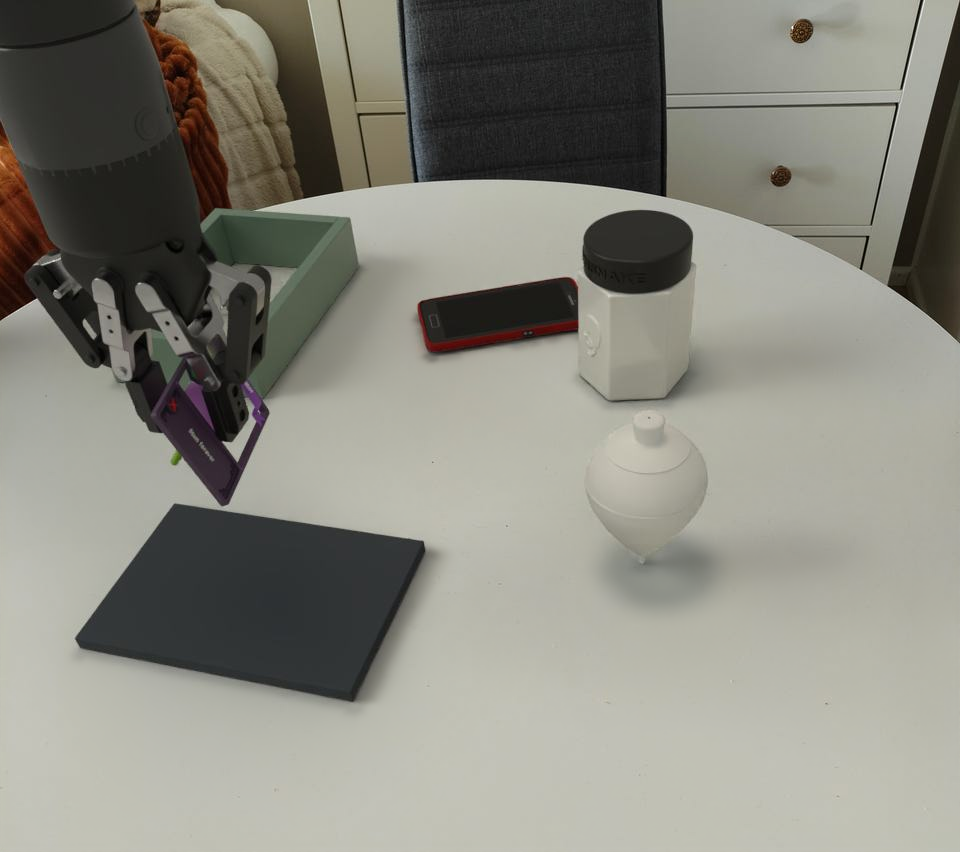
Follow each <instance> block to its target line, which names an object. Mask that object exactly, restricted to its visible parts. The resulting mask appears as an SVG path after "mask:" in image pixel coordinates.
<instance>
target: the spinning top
mask: <svg viewBox="0 0 960 852" xmlns="http://www.w3.org/2000/svg"><path fill="white" fill-rule="evenodd" d="M708 485H709V475H708V468H707V464H706V460H705V459H704V456H703V455H702V453H701V451H700V449H699V448H698V447H697V445H696V444H695V443H694V442H693V440H691V439H690V438H689V437H688V436H687V435H686V434H685V433H684V432H683V431H682V430H680V429H679V428H678V427H676V426H674V425H671V424H668V423H666V418H665V416H664V415H663V414H662V413H661V412H659V411H657V410H653V409H647V410H641V411H639V412H637V413H636V414H634V416H633V417H632V422H630V423H626V424H624V425H622V426H620V427H618V428H617V429H615V430H614V431H612V432H611V434H610V435H608V436H606V438H604V439H603V440H602V441H601V442H600V443H599V444H598V446H597V447H596V448H595V449H594V451H593V453H592V454H591V456H590V458H589V460H588V462H587V466H586V470H585V474H584V486H585V492H586V493H585V494H586V498H587V500H588V503H589V505H590V507H591V509H592V511H593V512H594V515H595V516H596V517H597V519H598V520H599V522H600V523H601V524H602V526H603V527H604V528H605V530H606V531H607V532H608V533H609V534H611V535H612V536H613V537H614V538H615V539H616V540H617V541H618V542H619V543H620V544H621V545H622V546H624V547H625V548H626V549H628V550H629V551H631V552H632V553H634V554H635V555H638V563H639V564H641V565H644V564H645V562H646V556H647V555H650V554H652V553H654V552H655V551H658V550H659V549H660V548H662V547H664V546H665V545H666V544H667V543H669V542H670V541H672V540H673V539H674V538H675V537H676V536H678V535H679V534H680V533H681V532H682V531H683V530H685V528H686V526H688V524H689V523H690V522H691V521H692V520H693V519H694V517H696V515H697V513H698V511H699V510H700V509H701V507H702V504H703V502H704V501H705V498H706V494H707V490H708Z"/></svg>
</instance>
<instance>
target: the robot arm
mask: <svg viewBox="0 0 960 852" xmlns="http://www.w3.org/2000/svg"><path fill="white" fill-rule="evenodd" d="M174 112H175V111H174V109H173V105H172V101H171V98H170V94H169V92H168V88H167V84H166V81H165V77H164V74H163V71H162V66H161V64H160V60H159V57H158V55H157V53H156V50H155V47H154V45H153V43H152V40H151V38H150V36H149V34H148V32H147V28H146V26H145V24H144V22H143V18H142V16H141V14H140V10H139V7H138V5H137V3H136V0H0V122H1V125H2V127H3V130H4V132H5V135H6V137H7V140H8V142H9V144H10V147H11V149H12V151H13V154H14V157H15V160H16V162H17V164H18V166H19V169H20V171H21V174H22V176H23V179H24V181H25V184H26V186H27V189H28V191H29V193H30V194H29V195H30V196H31V198H32V201H33V204H34V205H35V208H36V210H37V213H38V216H39V218H40V220H41V223H42V225H43V227H44V230H45V232H46V235H47V237H48V238H49V240H50V241H51V243H52V244H53V245H54V246H55V247H57V248H58V249H57V248H52V249H50V250H49V251H48V252H47V253H46V254H45V255H43V256H41V257H40V258H39V259H38V260H37V261H36V262H35V263H33V264H32V266H31V267H30V268H29V269H28V270H26V272H25V273H24V274H23V279H24V283H25V284H26V285H27V287H28V288H29V289H30V291H31V293H33V295H34V296H35V298H36V299H37V300H38V302H39V303H40V304H41V306H42V307H43V309H44V310H45V312H46V313H47V314H48V316H49V317H50V318H51V320H52V321H53V323H55V325H56V326H57V328H58V329H59V330H60V332H61V333H62V334H63V336H64V337H65V338H66V340H67V341H68V343H69V344H70V345H71V347H72V348H73V349H74V351H75V352H76V353H77V355H78V356H79V358H80V359H81V361H82V362H83V364H85V365H86V366H88V367H90V368H92V369H99V368H100V367H101V366H105V367H107V368H109V369H112V370H113V372H114V374H115V375H116V376H117V377H118V378H119V379H121V380H123V381H124V382H125V383H124V382H123V383H124V384H125V387H126V390H127V392H128V394H129V397H130V400H131V403H132V405H133V407H134V410H135V412H136V415H137V416H138V418H139V419H140V420H141V421H142V423H145V425H146V428H147V430H148V431H149V432H150V433H156V434H163V432H162V431H161V430H160V428H159V427H158V426H157V425H156V423H155V422H154V421H153V420H152V418H151V413H152V411H153V409H154V408H155V406H156V404H157V402H158V401H159V399H160V397H161V395H162V394H163V392H164V390H165V388H166V387H167V385H168V384H167V382H166V379H165V376H164V373H163V370H162V368H161V365H160V362H159V361H152V360H151V358H150V357H151V356H152V355H153V346H152V336H151V329H154V330H157V331H159V332H162V333H164V335H165V337H166V338H167V340H168V342H169V343H170V345H171V347H172V349H173V350H174V352H175V353H176V355H177V356H178V357H184V358H186V359H187V361H188V363H189V365H190V366H191V368H192V370H193V371H194V373H195V375H196V376H197V378H198V380H199V382H200V383H201V385H202V386H203V389H202V390H201V392H202V395H203V398H204V401H205V404H206V407H207V410H208V413H209V416H210V419H211V422H212V425H213V428H214V431H215V434H216V436H217V438H218V439H219V440H220V441H222V442H223V443H224V442H225V443H233V442H234V441H235V439H236V438H237V436H238V435H239V434H240V432H241V431H242V430H243V429H244V427H245V425H246V424H247V423H248V421H249V418H250V410H249V408H248V405H247V401H246V399H245V398H246V397H244V394H243V390H242V387H241V385H242V384H244V383H245V382H246V380H247V379H248V378H249V376H250V375H251V374H252V373H253V371H254V370H255V369H256V367H257V366H258V365H259V363H260V362H261V361H262V359H263V358H264V356H265V348H266V337H267V326H268V315H269V304H270V303H271V291H272V279H273V278H272V276H271V273H270V272H269V271H268V269H267V268H265V267H264V266H263V265H253V266H252V267H251V268H250V269H249V270H248V271H247V272H245V271H243V270H240V269H237V268H235V267H233V266H228V265H225V264H223V263H220V262H219V259H218V256H217V254H216V252H215V250H214V249H213V248H212V246H211V245H210V244H209V243H208V241H207V240H206V238H205V236H204V235H203V233H202V230H201V225H200V224H201V210H200V200H199V195H198V192H197V188H196V186H195V181H194V178H193V174H192V170H191V167H190V164H189V160H188V157H187V154H186V149H185V146H184V142H183V140H182V136H181V133H180V129H179V126H178V122H177V117H176V116H175V113H174ZM212 289H214V290H215V291H216V293H217V295H218V297H219V303H220V305H221V306H220V309H219V307H218V305H217V304H216V302H215V300H214V298H213V296H212V294H211V292H212V291H211V290H212ZM223 316H227V327H226V332H225V329H224V325H225V320H224V317H223ZM84 321H86V323H87V324H88V325H89V327H90V328H91V330H92V331H93V333H94V334H95V337H94V338H92V335H90V333H89V332H88V330H87V329H86V328H85V326H84ZM188 327H189V328H188ZM207 347H208V349H209V351H210V352H211V354H212V356H213V359H212V358H211V356H210V355H209V353H208V351H207ZM112 370H111V371H112ZM113 372H112V373H113Z"/></svg>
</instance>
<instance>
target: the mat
mask: <svg viewBox="0 0 960 852" xmlns="http://www.w3.org/2000/svg"><path fill="white" fill-rule="evenodd" d="M425 553H426V545H425V541H424V540H419V539H412V538H406V537H400V536H394V535H386V534H380V533H373V532H366V531H361V530H354V529H346V528H341V527H334V526H327V525H320V524H314V523H308V522H301V521H294V520H287V519H282V518H281V519H280V518H274V517H268V516H262V515H254V514H248V513H241V512H235V511H228V510H221V509H215V508H208V507H201V506H195V505H188V504H182V503H176V502H174V503H173V504H172V505H171V507H170V508H169V509H168V511H167V513H166V514H165V515H164V516H163V518H162V519H161V520H160V522H159V523H158V524H157V526H156V527H155V529H154V530H153V531H152V533H151V534H150V535H149V537H148V538H147V539H146V541H145V542H144V543H143V545H142V546H141V547H140V549H139V550H138V551H137V553H136V554H135V556H134V557H133V558H132V560H131V561H130V563H129V564H128V565H127V567H126V568H125V569H124V571H123V572H122V573H121V575H120V576H119V578H118V579H117V580H116V582H114V584H113V585H112V587H111V588H110V590H108V592H107V593H106V595H105V597H103V599H102V600H101V602H100V603H99V604H98V606H97V607H96V609H95V610H94V611H93V613H92V614H91V615H90V617H89V618H88V619H87V621H86V622H85V624H84V625H83V626H82V627H81V629H80V630H79V632H78V633H77V634H76V635H75V637H74V640H75V642H76V643H77V645H78V647H79V648H80V649H84V650H89V651H94V652H99V653H105V654H110V655H115V656H120V657H126V658H130V659H134V660H139V661H145V662H151V663H156V664H161V665H165V666H170V667H171V666H172V667H177V668H180V669H186V670H191V671H196V672H201V673H206V674H211V675H217V676H221V677H227V678H231V679H237V680H240V681H241V680H242V681H245V682H246V681H247V682H251V683H257V684H263V685H268V686H272V687H276V688H277V687H278V688H282V689H287V690H292V691H298V692H303V693H308V694H313V695H318V696H324V697H327V698H334V699H338V700H342V701H343V700H344V701H347V702H354V700H355V698H356V696H357V695H358V693H359V690H360V688H361V686H362V683H363V682H364V679H365V678H366V676H367V673H368V671H369V669H370V667H371V665H372V663H373V661H374V658H375V657H376V655H377V653H378V651H379V649H380V646H381V644H382V642H383V640H384V638H385V636H386V634H387V632H388V630H389V627H390V625H391V623H392V622H393V620H394V617H395V615H396V613H397V611H398V609H399V608H400V605H401V603H402V601H403V599H404V597H405V594H406V593H407V590H408V588H409V586H410V584H411V582H412V580H413V578H414V576H415V574H416V572H417V569H418V567H419V565H420V563H421V561H422V559H423V557H424V555H425Z"/></svg>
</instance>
